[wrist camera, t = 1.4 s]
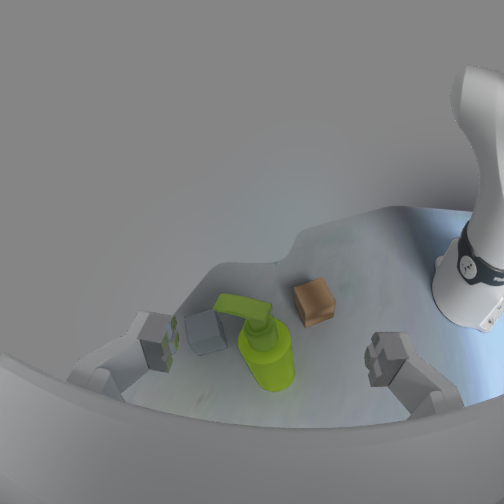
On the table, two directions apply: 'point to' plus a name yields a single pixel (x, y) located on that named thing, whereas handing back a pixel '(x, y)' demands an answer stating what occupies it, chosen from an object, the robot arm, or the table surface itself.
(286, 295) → the table surface
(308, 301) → the walnut block
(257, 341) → the soap dispenser
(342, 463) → the robot arm
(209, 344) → the slate-grey block
